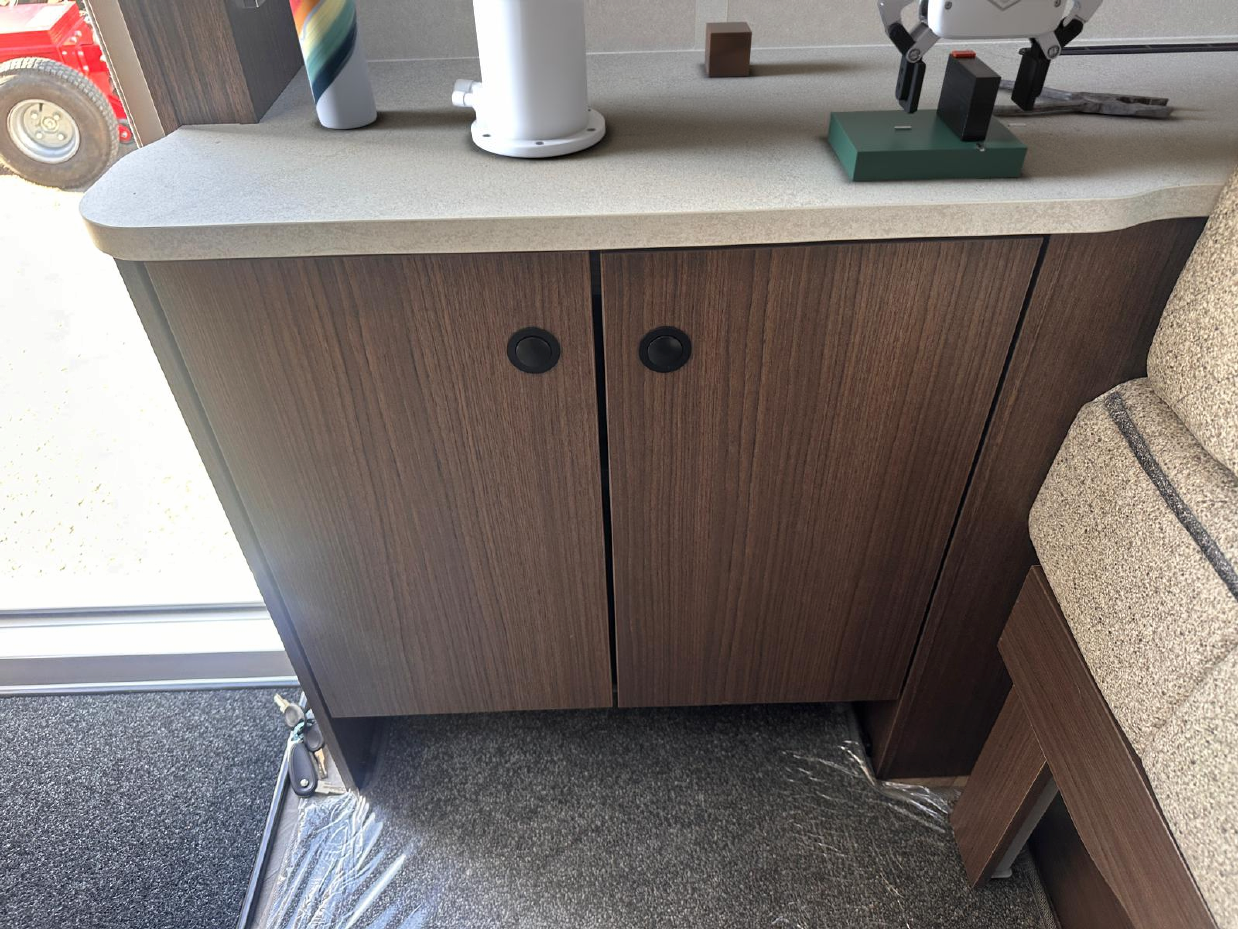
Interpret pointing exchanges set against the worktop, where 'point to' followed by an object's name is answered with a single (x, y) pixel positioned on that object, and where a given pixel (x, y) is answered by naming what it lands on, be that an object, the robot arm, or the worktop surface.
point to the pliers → (1091, 103)
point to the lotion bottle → (335, 62)
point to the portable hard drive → (968, 96)
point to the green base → (920, 147)
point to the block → (727, 49)
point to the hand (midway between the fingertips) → (963, 107)
